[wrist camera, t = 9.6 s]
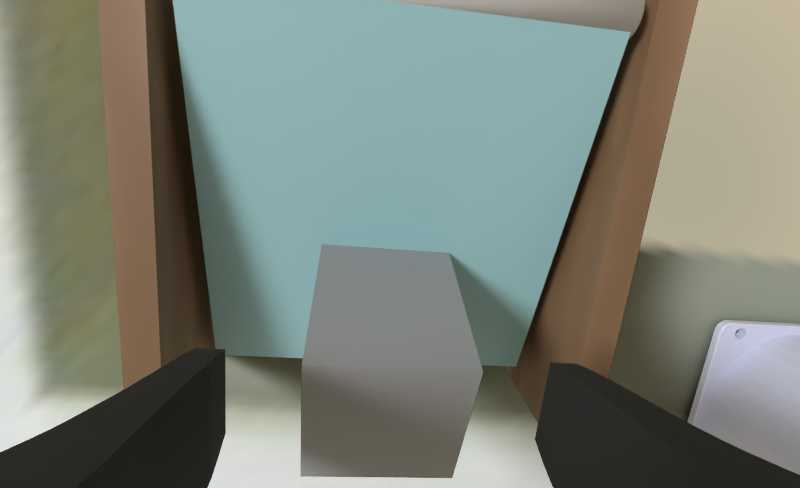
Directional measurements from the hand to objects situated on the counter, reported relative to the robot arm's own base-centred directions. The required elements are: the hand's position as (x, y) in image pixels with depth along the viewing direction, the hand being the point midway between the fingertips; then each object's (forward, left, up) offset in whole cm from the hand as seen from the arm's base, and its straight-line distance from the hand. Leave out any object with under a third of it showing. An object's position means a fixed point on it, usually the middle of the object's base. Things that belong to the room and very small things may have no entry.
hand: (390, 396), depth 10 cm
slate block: (0, 0, -5) cm, 5 cm away
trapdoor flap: (0, -6, -7) cm, 10 cm away
